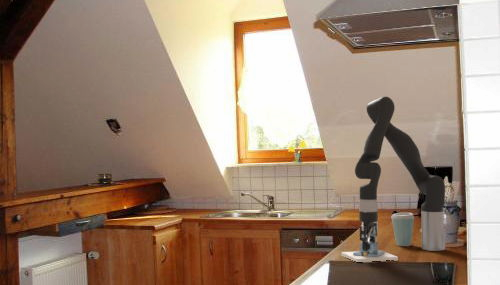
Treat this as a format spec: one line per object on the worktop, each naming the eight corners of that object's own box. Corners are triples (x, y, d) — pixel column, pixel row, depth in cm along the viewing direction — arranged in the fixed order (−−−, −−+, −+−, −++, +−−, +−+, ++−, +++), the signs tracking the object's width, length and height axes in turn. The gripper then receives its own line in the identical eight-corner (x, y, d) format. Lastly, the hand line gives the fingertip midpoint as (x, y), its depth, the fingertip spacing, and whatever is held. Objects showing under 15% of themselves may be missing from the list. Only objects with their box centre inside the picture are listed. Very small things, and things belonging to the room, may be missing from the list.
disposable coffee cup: (405, 248, 260) (405, 215, 261) (386, 245, 269) (386, 213, 269) (419, 245, 267) (419, 213, 267) (400, 242, 275) (399, 211, 276)
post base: (380, 253, 247) (380, 238, 247) (397, 260, 231) (397, 244, 231) (341, 255, 243) (341, 240, 243) (356, 262, 227) (356, 246, 227)
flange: (361, 251, 244) (361, 239, 244) (384, 253, 239) (384, 241, 239) (353, 255, 235) (353, 243, 235) (376, 257, 230) (376, 245, 230)
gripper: (365, 208, 245) (366, 245, 245) (353, 211, 233) (353, 251, 233) (382, 209, 241) (383, 247, 241) (371, 212, 229) (371, 252, 229)
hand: (368, 249), depth 237 cm, fingers open, 8 cm apart
